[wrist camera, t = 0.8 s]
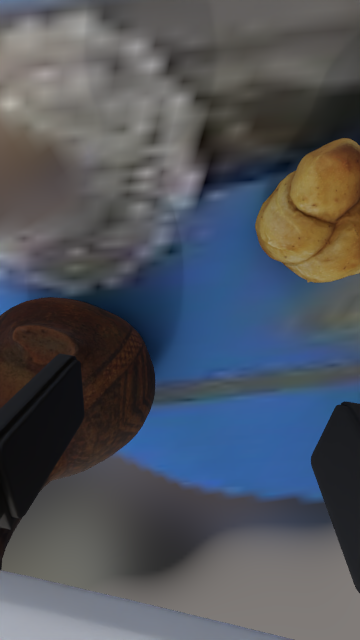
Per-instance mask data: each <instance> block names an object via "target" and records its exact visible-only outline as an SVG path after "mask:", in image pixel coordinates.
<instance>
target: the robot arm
mask: <svg viewBox="0 0 360 640" xmlns="http://www.w3.org/2000/svg"><path fill="white" fill-rule="evenodd" d="M84 414H85V412H84V400H83V387H82V375H81V363H80V361H78V360H77V358H76V357H75V356H72V355H66V354H58V355H57V356H55V357H54V358H53V359H52V360H51V361H50V362H49V363H48V364H47V365H46V366H45V367H44V368H43V369H42V370H41V371H40V372H39V373H37V374H36V375H35V376H34V377H33V378H32V379H31V380H30V381H29V382H28V383H27V384H26V385H25V386H24V387H23V388H22V389H21V390H19V391H18V392H17V393H16V394H15V395H14V396H13V397H12V398H11V399H10V400H9V401H8V402H7V403H6V404H5V405H4V406H3V407H1V408H0V527H1V528H6V529H10V530H11V528H12V526H13V525H14V523H15V522H16V520H17V519H18V518H22V517H23V516H24V515H25V514H26V512H27V511H28V509H29V508H30V506H31V505H32V503H33V501H34V500H35V498H36V496H37V495H38V493H39V492H40V490H41V488H42V487H43V485H44V483H45V482H46V480H47V479H48V477H49V475H50V474H51V472H52V471H53V469H54V467H55V466H56V464H57V462H58V461H59V459H60V458H61V456H62V454H63V453H64V451H65V449H66V448H67V446H68V445H69V443H70V441H71V440H72V438H73V436H74V435H75V433H76V432H77V430H78V428H79V427H80V425H81V423H82V422H83V419H84ZM311 465H312V468H313V471H314V474H315V477H316V479H317V482H318V485H319V488H320V490H321V493H322V496H323V499H324V502H325V504H326V507H327V510H328V513H329V515H330V518H331V521H332V524H333V527H334V529H335V532H336V535H337V537H338V540H339V543H340V546H341V549H342V551H343V554H344V557H345V560H346V563H347V565H348V568H349V571H350V574H351V576H352V579H353V582H354V585H355V587H356V589H357V590H358V592H359V593H360V404H357V403H351V402H343V403H341V405H337V406H336V407H335V409H334V411H333V413H332V415H331V417H330V419H329V421H328V423H327V425H326V427H325V429H324V431H323V433H322V436H321V438H320V440H319V442H318V444H317V446H316V448H315V450H314V452H313V454H312V456H311ZM0 640H292V639H289V638H285V637H281V636H277V635H273V634H269V633H265V632H260V631H256V630H252V629H248V628H244V627H240V626H236V625H232V624H228V623H223V622H219V621H215V620H211V619H207V618H202V617H198V616H195V615H190V614H186V613H182V612H178V611H174V610H169V609H165V608H161V607H157V606H153V605H149V604H144V603H140V602H136V601H132V600H128V599H124V598H119V597H115V596H111V595H107V594H102V593H98V592H94V591H90V590H86V589H81V588H77V587H73V586H69V585H64V584H60V583H56V582H51V581H47V580H43V579H39V578H34V577H30V576H26V575H21V574H16V573H11V572H7V571H2V570H0Z"/></svg>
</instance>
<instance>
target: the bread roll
mask: <svg viewBox="0 0 360 640" xmlns="http://www.w3.org/2000/svg"><path fill="white" fill-rule="evenodd" d="M255 228H256V232H257V236H258V240H259V243H260V245H261V247H262V249H263V250H264V251H265V252H266V254H267V255H268V256H269V257H271V258H272V259H274V260H277V261H280V262H282V263H283V264H284V265H285V266H286V267H288V268H289V269H290V270H292V271H293V272H294V273H295V274H297V275H298V276H300V277H302V278H303V279H306V280H308V281H307V282H314V283H316V282H330V281H334V280H338V279H342V278H344V277H347V276H349V275H354V274H358V273H360V146H359V145H358V144H357V143H356V142H354V141H353V140H351V139H348V138H342V139H339V140H336V141H333V142H331V143H328V144H326V145H324V146H322V147H321V148H319V149H316V150H314V151H312V152H311V153H309V154H307V155H306V156H305V157H303V159H302V160H301V161H300V163H299V165H298V167H297V170H296V171H294V172H292V173H290V174H289V175H287V177H286V178H285V179H283V180H282V181H281V182H280V183H279V184H278V186H277V188H276V189H275V190H274V192H273V193H272V194H271V195H270V197H269V198H268V199H267V200H266V201H265V202H264V203H263V205H262V207H261V209H260V211H259V214H258V216H257V220H256V224H255Z"/></svg>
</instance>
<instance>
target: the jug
mask: <svg viewBox="0 0 360 640" xmlns="http://www.w3.org/2000/svg"><path fill="white" fill-rule="evenodd" d="M58 354H66V355H72V356H75V357H76V358H77V360H78V361H80V363H81V375H82V387H83V400H84V412H85V414H84V419H83V422H82V423H81V425H80V427H79V428H78V430H77V432H76V433H75V435H74V436H73V438H72V440H71V441H70V443H69V445H68V446H67V448H66V449H65V451H64V453H63V454H62V456H61V458H60V459H59V461H58V462H57V464H56V466H55V467H54V469H53V471H52V472H51V474H50V475H49V477H48V479H47V480H46V482H45V483H44V485H43V487H44V486H46V485H47V484H48V483H49V482H50V481H52V480H56V479H60V478H63V477H67V476H71V475H74V474H77V473H80V472H82V471H85V470H87V469H89V468H91V467H92V466H94V465H96V464H98V463H100V462H102V461H103V460H105V459H107V458H108V457H110V456H111V455H113V454H114V453H115V452H117V451H118V450H119V449H121V448H122V447H123V446H125V445H126V444H127V443H128V442H129V441H130V440H132V439H133V438H134V436H135V435H136V434H137V433H138V432H139V430H140V429H141V427H142V426H143V424H144V422H145V420H146V418H147V416H148V414H149V412H150V409H151V406H152V403H153V399H154V394H155V372H154V367H153V364H152V361H151V358H150V355H149V352H148V350H147V348H146V345H145V343H144V341H143V339H142V338H141V336H140V334H139V333H138V332H137V331H136V330H135V329H134V328H133V327H132V326H131V325H130V324H129V323H128V322H127V321H125V320H123V319H122V318H120V317H119V316H117V315H114V314H112V313H110V312H108V311H106V310H103V309H101V308H99V307H96V306H94V305H91V304H88V303H85V302H81V301H77V300H72V299H65V298H53V297H48V298H39V299H34V300H30V301H26V302H23V303H21V304H19V305H16V306H14V307H12V308H10V309H9V310H7V311H6V312H5V313H3V314H2V315H1V316H0V408H1V407H3V406H4V405H5V404H6V403H7V402H8V401H9V400H10V399H11V398H12V397H13V396H14V395H15V394H16V393H17V392H18V391H19V390H21V389H22V388H23V387H24V386H25V385H26V384H27V383H28V382H29V381H30V380H31V379H32V378H33V377H34V376H35V375H36V374H37V373H39V372H40V371H41V370H42V369H43V368H44V367H45V366H46V365H47V364H48V363H49V362H50V361H51V360H52V359H53V358H54V357H55V356H57V355H58ZM43 487H42V488H43ZM42 488H41V490H42ZM41 490H40V491H41ZM21 519H22V518H18V519H17V520H16V522H15V523H14V525H13V526H12V528H11V530H10V529H6V528H1V527H0V570H1V567H2V558H3V555H4V551H5V548H6V546H7V544H8V542H9V540H10V538H11V536H12V533H13V532H14V530H15V528H16V527H17V525H18V524H19V522H20V520H21Z"/></svg>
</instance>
